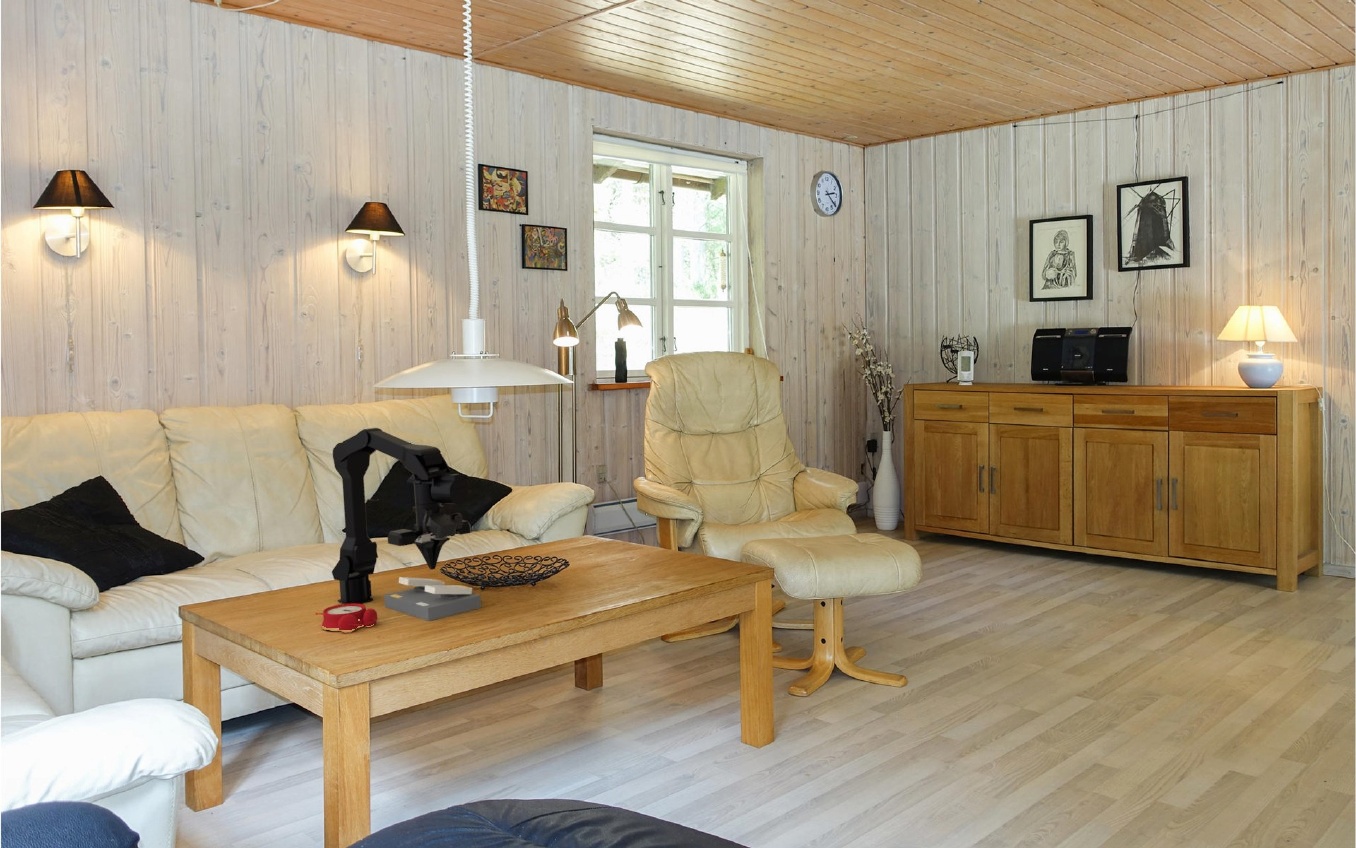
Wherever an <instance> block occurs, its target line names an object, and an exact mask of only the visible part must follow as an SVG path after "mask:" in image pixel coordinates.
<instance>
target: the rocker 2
mask: <svg viewBox="0 0 1356 848" xmlns="http://www.w3.org/2000/svg"><path fill="white" fill-rule="evenodd" d="M425 591H426V592H429V593H433V594H472V593H473V587H471V586H466V585H464V584H460V585H459V584H458V585H457V584H454V585H448V584H447V585H446V584H445V585H425Z"/></svg>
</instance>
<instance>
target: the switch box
mask: <svg viewBox="0 0 1356 848" xmlns="http://www.w3.org/2000/svg"><path fill="white" fill-rule="evenodd" d="M383 596H384V607H385V608H386V609H390V610H393V611H396V612H399V613H403V614H406V615H409V616H412V617H414V616H416V617H415V618H417V617H418V618H417V619H421V618H422V619H421V620H424V621H427V622H430V621H434V620H438V619H443V618H446V617H450V616H454V615H458V614H459V615H460V614H463V613H465V612H470V611H475V610H477V609H481V608H482V604H481V603H482V600H481V599H482V598H481V595H480V594H477V593H473V592H472V594H433V593H429V592H426V591H425V586H413V588H407V589H403V590H399V591H394V592H391V593H387V594H384V595H383Z"/></svg>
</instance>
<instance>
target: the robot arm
mask: <svg viewBox="0 0 1356 848" xmlns="http://www.w3.org/2000/svg"><path fill="white" fill-rule="evenodd" d="M376 451H378V452H380V453H382V454H385V455H387V456H389V457H391V458H394V459H396V460H398V461H400V462H401V463H402V465H403V467H404V468H405V469H406V470H408V472H410V473H412V474H411V476H410V477H409V478H407V479H406V482H407V483H408V484H413V489H414V490H413V491H414V503H415V504H414V505H415V506H412V512H415V518H416V520H415V522H416V523H415V524H413V529H414V530H411V529H405V528H402V529H396V530H391V531H389V533H388V535H387V544H389V545H393V546H397V547H404V546H409V545H415V546H416V547H417V549H418V551H419V552H420V553H421V555H422V557H423V559H424V561H425V562H426V563H425V564H426V565H427V567H428V568H429V570H431V571H432V570H435V569H436V567H437V564H438V561H439V556H440V553H441V550H442V549H443V546H444V545H445V544H446V543H447V542H448V541H450V540H451V538H450V537H455V536H456V533H457V534H458V535H465V534H466V535H468V534H471V533H472V529H471V527H472V526H471V524H470V522H469V521H468V520H464V519H463V515H462V514H461V513H460V512H456V513H451V514H446V509H445V506H444V505H442V504H445V505H446V504H447V505H448V504H449V505H461V504H464V503H465V502H466V501H467V498H468V494H469V487H468V485H467V483H466V481H464V479H462V478H461V477H462V476H461V473H454V472H453V471H452V470H451V467H450V466H449V465H448V463H447V461H446V459H445V458H444V456H443V454H442V453H441V452H442V451H441V450H440V449H439V448H438V447H436V446H432V445H426V444H425V445H424V444H414V443H411V442H408V441H407V440H404V439H401V438H400V437H398V436H395V435H392V434H391V433H388V432H386V431H383V429H381V428H378V427H371V428H363V429H362V430H359V432H358V433H356V434H354V435H353V436H351V437H349V438H347V439H345V440H343V441H342V442H338V443H337V444H335V446H334V447H333V449H332V459H333V465H334V469H335V470H336V472H337V473H338V475H339V476H340V477H341V480H342V482H341V483H342V494H343V495H342V496H343V512H344V526H345V538H344V540H343V542H342V544H341V546H340V548H339V560H338V562H337V563H336V564H335V566H334V567H333V569H332V571H331V574H332V577H333V580H334V581H338V583H339V593H340V594H339V596H340V599H337V602H338V603H340V604H351V603H355V604H362V603H363V604H364V603H368V602H371V601H374V597H372V596H373V595H372V594H373V593H372V581H371V580H370V578H369V577H370V576H369V575H374V574H375V573H374V572H375V568H376V564H377V559H378V558H379V556H378V549H377V548H378V544H377V541H372V539H371V538H370V537H369V534H368V526H367V525H368V523H367V510H366V509H367V507H366V495H365V475H366V472H367V471H368V469H369V467H370V464H371V463H370V460H371V456H372V455H373V454H374V453H375V452H376Z"/></svg>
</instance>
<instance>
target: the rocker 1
mask: <svg viewBox="0 0 1356 848" xmlns="http://www.w3.org/2000/svg"><path fill="white" fill-rule="evenodd" d="M398 584H401V585H404V586H409V587H410V586H411V587H418V586H425V585H446V581H444V580H440V579H438V578H422V577H406V576H405V577H404V576H399V578H398Z"/></svg>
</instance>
